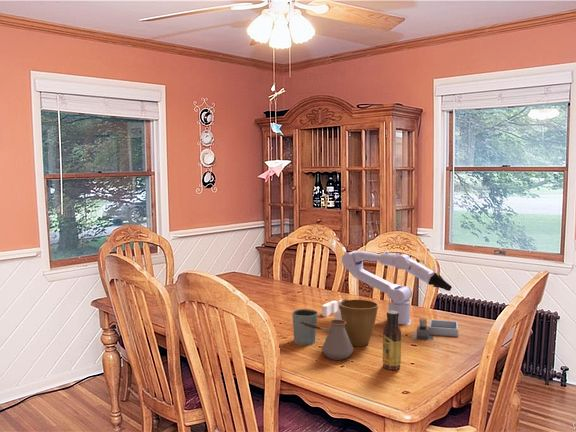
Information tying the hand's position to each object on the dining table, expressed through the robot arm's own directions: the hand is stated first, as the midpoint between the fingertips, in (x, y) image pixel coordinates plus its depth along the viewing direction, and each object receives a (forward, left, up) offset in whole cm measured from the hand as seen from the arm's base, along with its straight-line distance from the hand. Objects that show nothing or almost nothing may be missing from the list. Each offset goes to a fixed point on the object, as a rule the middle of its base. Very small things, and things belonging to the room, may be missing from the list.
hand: (449, 288), depth 220 cm
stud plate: (-10, -12, -18) cm, 24 cm away
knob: (-10, -12, -18) cm, 24 cm away
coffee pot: (-43, -44, -18) cm, 64 cm away
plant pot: (-34, -25, -18) cm, 46 cm away
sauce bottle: (-19, -47, -18) cm, 54 cm away
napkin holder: (-53, +14, -19) cm, 58 cm away
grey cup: (-55, -28, -18) cm, 64 cm away
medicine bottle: (-43, -6, -18) cm, 47 cm away
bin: (-2, -3, -18) cm, 19 cm away
